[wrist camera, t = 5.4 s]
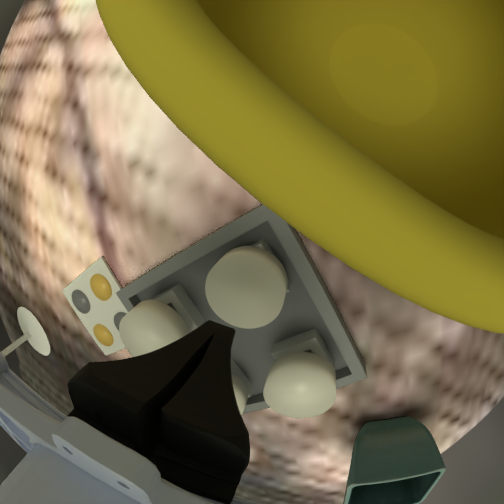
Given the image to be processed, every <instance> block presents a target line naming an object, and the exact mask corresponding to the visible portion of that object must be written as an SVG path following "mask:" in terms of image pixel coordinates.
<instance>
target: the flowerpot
mask: <svg viewBox="0 0 504 504" xmlns="http://www.w3.org/2000/svg"><path fill="white" fill-rule="evenodd" d="M96 4H97V7H98V11H99V14H100V17H101V19H102V21H103V24H104V26H105V28H106V31H107V33H108V35H109V37H110V40H111V41H112V43H113V45H114V46H115V48H116V50H117V51H118V53H119V55H120V56H121V58H122V60H123V61H124V63H125V65H126V66H127V67H128V69H129V70H130V71H131V73H132V74H133V75H134V77H135V78H136V79H137V81H138V82H139V83H140V85H141V86H142V87H143V89H144V90H145V91H146V93H147V94H148V95H149V97H150V98H151V99H152V100H153V101H154V102H155V103H156V104H157V105H158V106H159V108H160V109H161V110H162V111H163V112H164V113H165V114H166V115H167V116H168V117H169V119H170V120H171V121H172V122H173V123H174V124H175V125H176V126H177V128H178V129H179V130H180V131H181V132H183V133H184V134H185V135H186V136H187V137H188V138H189V139H190V140H191V141H192V142H193V143H194V144H195V145H196V146H197V147H198V148H199V149H200V150H201V151H202V152H204V153H205V154H206V155H207V156H208V157H209V158H210V159H211V160H212V161H213V162H214V163H215V164H216V165H217V166H218V167H219V168H221V169H222V170H223V171H224V172H225V173H227V174H228V175H229V176H230V177H231V178H232V179H234V180H235V181H236V182H237V183H238V184H240V185H241V186H242V187H243V188H244V189H245V190H247V191H248V192H249V193H250V194H251V195H252V196H254V197H255V198H256V199H257V200H258V201H259V202H261V203H262V204H263V205H265V206H266V207H267V208H269V209H270V210H271V211H273V212H274V213H275V214H277V215H278V216H279V217H281V218H282V219H283V220H285V221H286V222H287V223H288V224H290V225H291V226H292V227H294V228H295V229H296V230H298V231H299V232H300V233H301V234H303V235H304V236H305V237H307V238H308V239H310V240H311V241H313V242H314V243H316V244H317V245H319V246H320V247H322V248H323V249H325V250H326V251H328V252H329V253H331V254H332V255H333V256H335V257H336V258H338V259H339V260H341V261H342V262H344V263H345V264H347V265H348V266H350V267H351V268H352V269H354V270H356V271H358V272H359V273H361V274H363V275H364V276H366V277H368V278H370V279H371V280H373V281H375V282H376V283H378V284H380V285H381V286H383V287H385V288H386V289H388V290H390V291H391V292H393V293H395V294H397V295H399V296H401V297H403V298H405V299H407V300H409V301H411V302H413V303H415V304H417V305H419V306H421V307H423V308H425V309H427V310H429V311H431V312H434V313H436V314H439V315H442V316H444V317H447V318H449V319H452V320H455V321H457V322H460V323H462V324H465V325H468V326H472V327H476V328H479V329H483V330H487V331H491V332H496V333H503V334H504V0H96Z"/></svg>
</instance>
